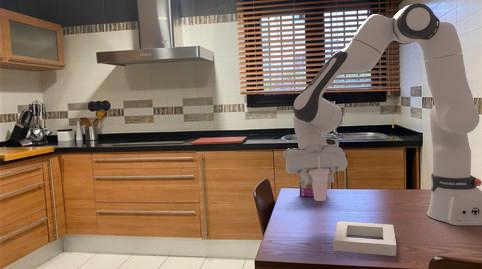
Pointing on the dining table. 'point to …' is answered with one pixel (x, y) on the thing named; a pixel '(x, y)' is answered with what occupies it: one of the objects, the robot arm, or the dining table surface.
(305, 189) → the candy bar box
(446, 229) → the dining table surface
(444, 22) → the robot arm
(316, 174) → the smoothie
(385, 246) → the beige square frame
